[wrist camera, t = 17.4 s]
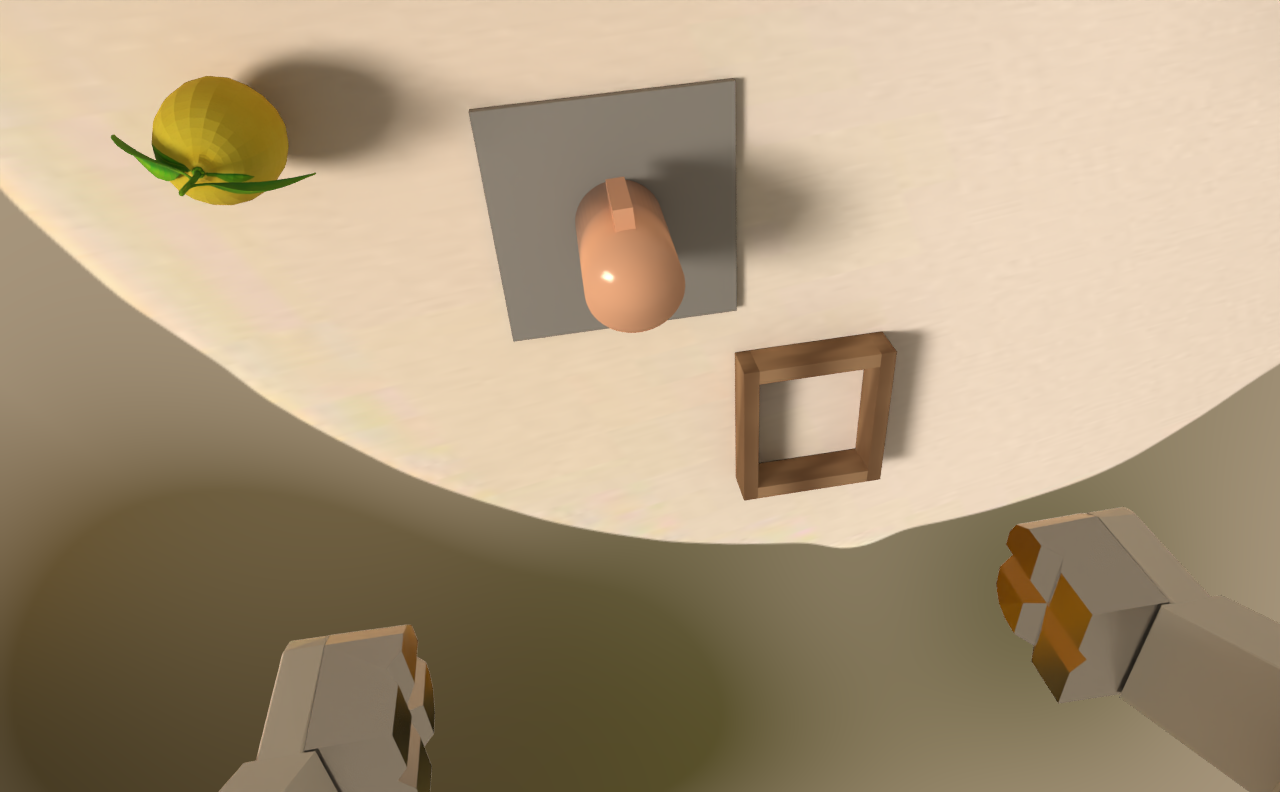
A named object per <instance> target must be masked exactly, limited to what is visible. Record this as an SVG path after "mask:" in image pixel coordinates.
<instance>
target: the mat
mask: <svg viewBox="0 0 1280 792" xmlns="http://www.w3.org/2000/svg"><path fill="white" fill-rule="evenodd" d="M469 116H470V121H471V126H472V131H473V136H474V141H475V147H476V152H477V157H478V162H479V167H480V172H481V177H482V182H483V188H484V193H485V198H486V203H487V208H488V213H489V218H490V223H491V228H492V234H493V239H494V244H495V249H496V254H497V259H498V264H499V269H500V275H501V280H502V285H503V290H504V295H505V300H506V305H507V310H508V316H509V321H510V326H511V331H512V336H513V341H521V340H529V339H536V338H543V337H550V336H557V335H564V334H572V333H579V332H586V331H593V330H600V329H607V328H609V327H607V326H605V325H603V324H602V323H601V322H599V321H598V320H597V319H596V318H595V317H594V316H593V314H592V313H591V311H590V310H589V308H588V305H587V303H586V299H585V294H584V286H583V279H582V272H581V264H580V257H579V250H578V243H577V235H576V228H575V216H576V212H577V208H578V206H579V204H580V202H581V200H582V199H583V197H584V196H585V195H586V194H587V193H588V192H589V191H590V190H591V189H593V188H594V187H596V186H597V185H599V184H601V183H604V182H606V181H605V179H611V178H618V177H624V178H625V180H630V181H634V182H637V183H639V184H641V185H643V186H644V187H646V188H647V189H648V190H650V191H651V192H652V193H653V195H654V196H655V197H656V199H657V200H658V202H659V204H660V207H661V210H662V213H663V216H664V219H665V222H666V224H667V227H668V230H669V233H670V236H671V239H672V242H673V244H674V247H675V250H676V253H677V256H678V259H679V262H680V264H681V267H682V270H683V273H684V277H685V293H684V297H683V300H682V302H681V304H680V306H679V308H678V309H677V311H676V312H675V313H674V314H673V315H672V316H671V317H670V318H669V319H668V320H672V319H679V318H686V317H694V316H701V315H708V314H715V313H722V312H729V311H737V287H736V81H735V80H734V79H733V78H731V79H723V80H714V81H706V82H697V83H689V84H681V85H672V86H664V87H655V88H647V89H638V90H630V91H622V92H613V93H605V94H596V95H588V96H579V97H571V98H563V99H554V100H546V101H537V102H529V103H521V104H512V105H504V106H495V107H487V108H478V109H470V110H469Z"/></svg>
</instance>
